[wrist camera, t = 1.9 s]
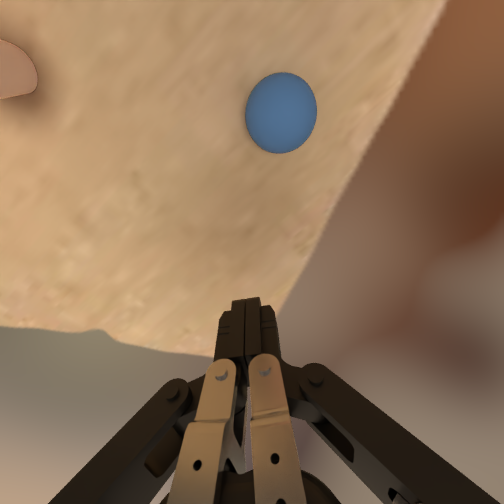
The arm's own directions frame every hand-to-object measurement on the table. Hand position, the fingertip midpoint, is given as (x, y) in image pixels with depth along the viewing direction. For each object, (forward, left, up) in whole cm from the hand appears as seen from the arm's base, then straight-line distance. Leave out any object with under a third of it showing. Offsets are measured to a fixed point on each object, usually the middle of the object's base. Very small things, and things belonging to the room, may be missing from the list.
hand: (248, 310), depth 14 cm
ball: (-8, +4, -14) cm, 17 cm away
